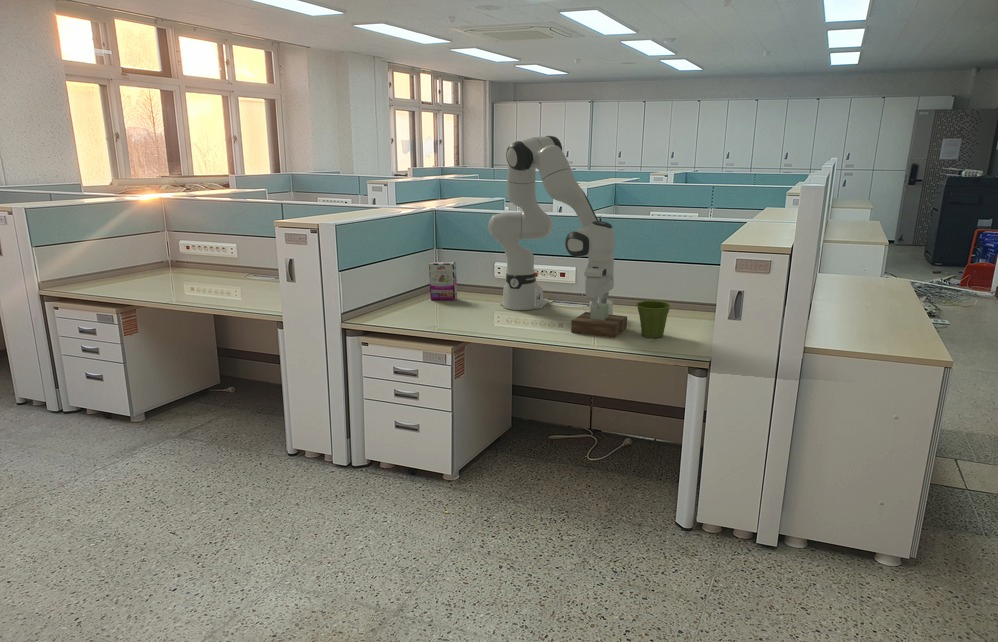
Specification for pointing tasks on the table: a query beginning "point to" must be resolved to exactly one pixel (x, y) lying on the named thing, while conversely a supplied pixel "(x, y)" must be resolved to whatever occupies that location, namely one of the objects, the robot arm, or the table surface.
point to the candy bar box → (443, 281)
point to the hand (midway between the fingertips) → (599, 306)
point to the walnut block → (599, 325)
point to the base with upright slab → (610, 306)
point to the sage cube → (600, 312)
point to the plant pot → (653, 317)
